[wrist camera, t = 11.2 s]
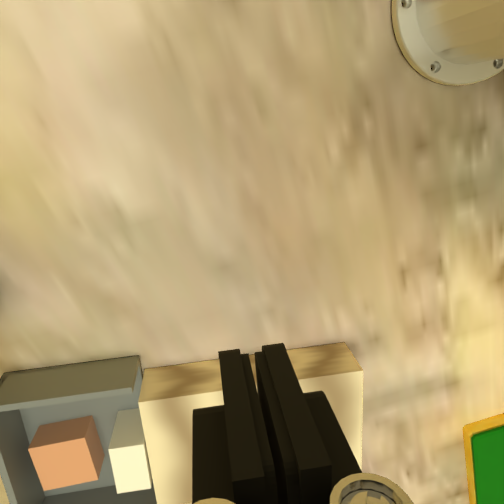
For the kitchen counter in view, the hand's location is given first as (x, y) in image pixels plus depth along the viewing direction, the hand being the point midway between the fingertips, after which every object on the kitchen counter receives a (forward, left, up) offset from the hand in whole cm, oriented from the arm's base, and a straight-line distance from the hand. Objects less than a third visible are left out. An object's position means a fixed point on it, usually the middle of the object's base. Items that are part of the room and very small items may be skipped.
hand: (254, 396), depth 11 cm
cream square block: (+8, +22, -24) cm, 34 cm away
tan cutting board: (-2, +22, -27) cm, 35 cm away
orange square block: (+16, +23, -24) cm, 36 cm away
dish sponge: (-31, +35, -28) cm, 54 cm away
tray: (+14, +22, -27) cm, 38 cm away
